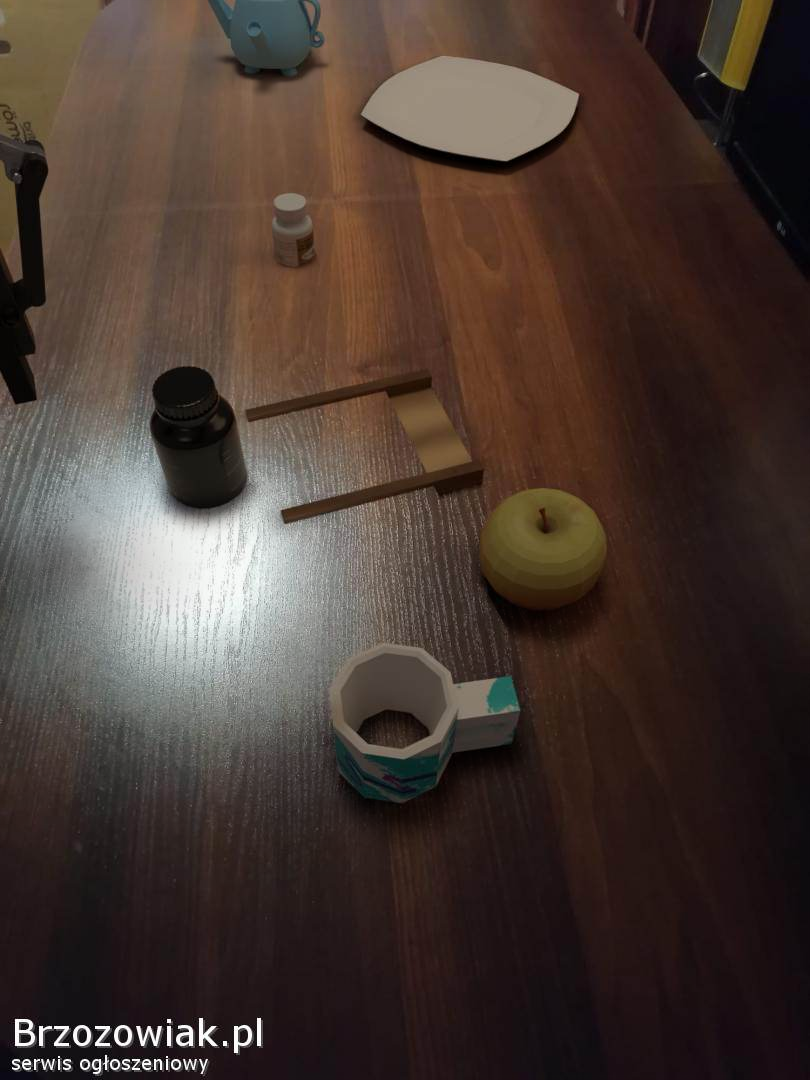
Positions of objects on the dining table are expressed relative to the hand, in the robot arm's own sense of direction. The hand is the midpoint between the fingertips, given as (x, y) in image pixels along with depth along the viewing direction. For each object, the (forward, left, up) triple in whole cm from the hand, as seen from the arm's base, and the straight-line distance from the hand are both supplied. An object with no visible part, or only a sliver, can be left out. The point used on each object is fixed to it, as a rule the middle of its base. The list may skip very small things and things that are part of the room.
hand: (24, 390), depth 61 cm
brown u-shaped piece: (0, +25, -15) cm, 29 cm away
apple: (+18, +34, -15) cm, 41 cm away
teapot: (-81, +37, -15) cm, 90 cm away
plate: (-56, +59, -15) cm, 83 cm away
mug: (+29, +20, -15) cm, 38 cm away
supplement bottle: (0, +11, -15) cm, 18 cm away
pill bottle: (-30, +27, -15) cm, 43 cm away
